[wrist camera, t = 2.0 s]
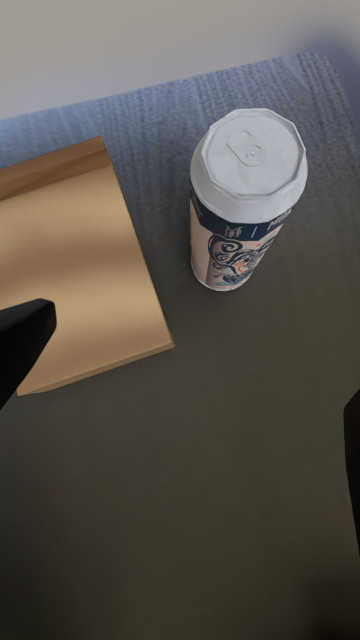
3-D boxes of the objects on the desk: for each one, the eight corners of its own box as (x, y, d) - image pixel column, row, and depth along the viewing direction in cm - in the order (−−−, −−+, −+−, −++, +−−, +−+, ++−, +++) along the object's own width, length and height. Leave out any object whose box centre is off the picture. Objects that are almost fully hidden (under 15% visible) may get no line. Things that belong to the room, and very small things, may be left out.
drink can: (215, 305, 23) (241, 234, 11) (178, 257, 23) (165, 141, 11) (265, 269, 23) (344, 162, 11) (227, 222, 24) (263, 76, 12)
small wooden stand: (175, 346, 22) (170, 339, 17) (48, 391, 22) (1, 398, 17) (121, 186, 24) (101, 134, 19) (5, 225, 24) (-48, 184, 19)
